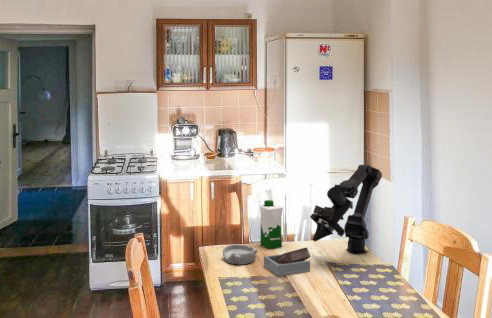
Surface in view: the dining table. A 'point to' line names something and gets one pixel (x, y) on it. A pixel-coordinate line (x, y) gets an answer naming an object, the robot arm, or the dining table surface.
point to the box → (294, 256)
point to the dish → (239, 254)
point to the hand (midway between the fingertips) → (313, 240)
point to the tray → (285, 266)
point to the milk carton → (271, 225)
